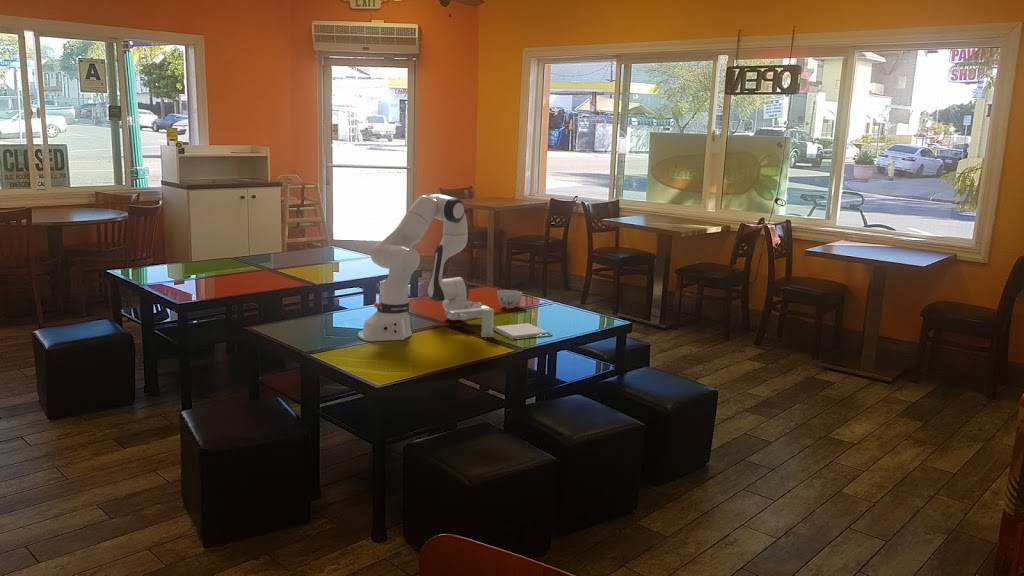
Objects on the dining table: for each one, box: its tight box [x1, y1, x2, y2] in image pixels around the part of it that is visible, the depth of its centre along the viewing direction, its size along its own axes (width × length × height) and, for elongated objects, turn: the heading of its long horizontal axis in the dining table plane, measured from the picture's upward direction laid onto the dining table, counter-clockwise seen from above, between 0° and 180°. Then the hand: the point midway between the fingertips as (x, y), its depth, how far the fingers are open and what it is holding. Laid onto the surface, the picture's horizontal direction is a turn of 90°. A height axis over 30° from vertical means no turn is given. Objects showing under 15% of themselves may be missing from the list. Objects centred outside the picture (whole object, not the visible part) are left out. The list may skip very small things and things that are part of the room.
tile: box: [493, 323, 552, 340], centre depth 346 cm, size 20×20×2 cm
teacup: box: [496, 289, 523, 308], centre depth 395 cm, size 15×12×8 cm
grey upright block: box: [480, 307, 495, 338], centre depth 336 cm, size 5×5×12 cm
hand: (476, 316), depth 345 cm, fingers open, 8 cm apart
